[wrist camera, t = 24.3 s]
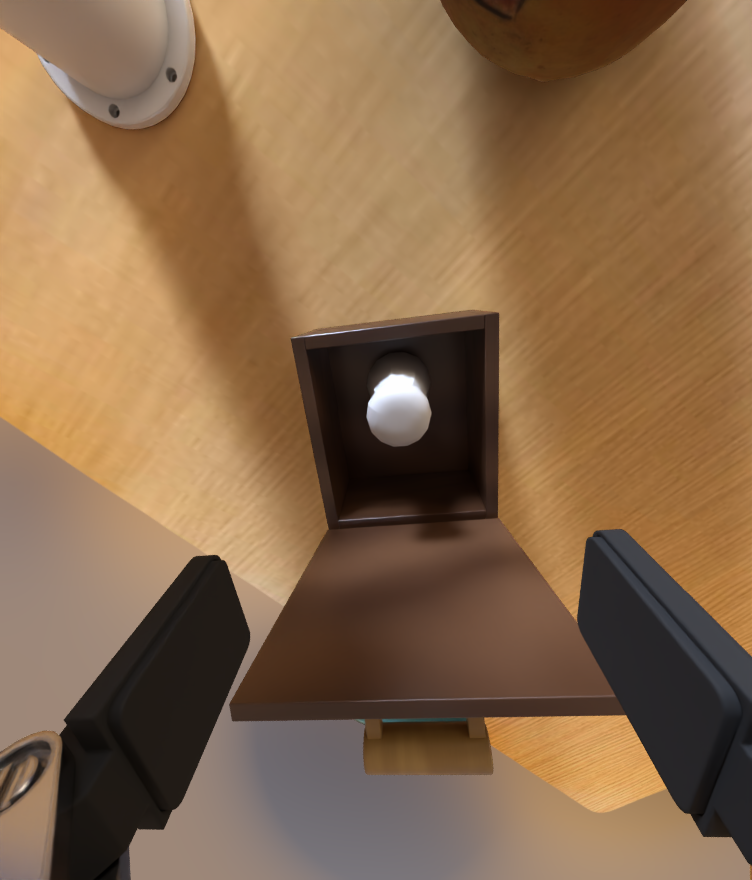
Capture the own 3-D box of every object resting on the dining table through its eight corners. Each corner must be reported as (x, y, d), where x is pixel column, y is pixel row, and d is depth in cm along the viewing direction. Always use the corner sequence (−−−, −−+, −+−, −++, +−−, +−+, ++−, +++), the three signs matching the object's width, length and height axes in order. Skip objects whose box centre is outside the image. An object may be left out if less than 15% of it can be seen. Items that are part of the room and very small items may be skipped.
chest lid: (228, 704, 14) (248, 820, 14) (632, 696, 12) (634, 825, 13) (327, 529, 31) (334, 586, 32) (499, 517, 30) (502, 577, 31)
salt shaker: (411, 337, 33) (419, 357, 21) (438, 389, 35) (460, 436, 23) (357, 368, 34) (336, 403, 22) (386, 417, 36) (381, 475, 24)
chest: (316, 329, 34) (290, 337, 26) (473, 309, 33) (499, 312, 24) (343, 483, 40) (328, 530, 32) (476, 472, 39) (498, 519, 30)
